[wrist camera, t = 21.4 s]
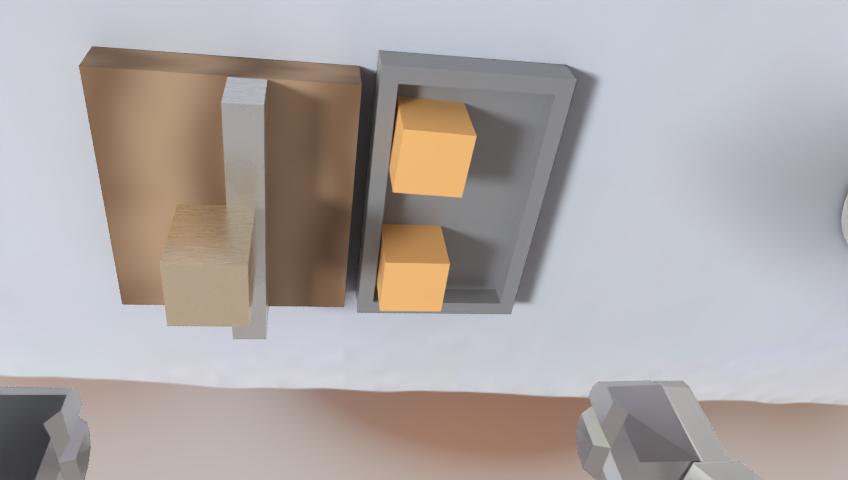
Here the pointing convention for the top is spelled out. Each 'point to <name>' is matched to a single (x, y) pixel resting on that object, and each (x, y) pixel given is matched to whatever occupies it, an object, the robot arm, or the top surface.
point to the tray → (469, 172)
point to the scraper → (226, 229)
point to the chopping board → (204, 162)
